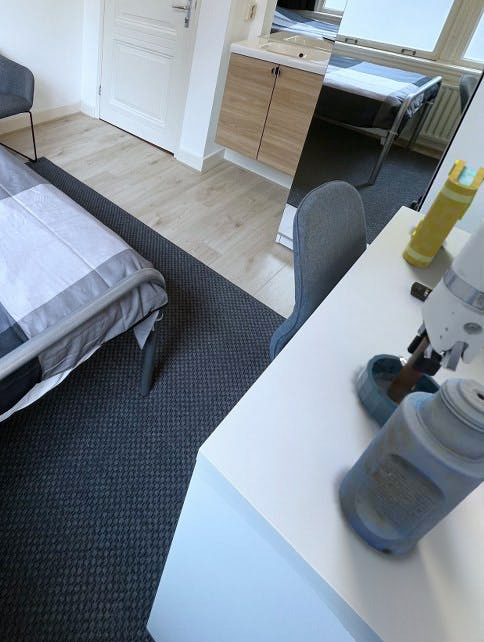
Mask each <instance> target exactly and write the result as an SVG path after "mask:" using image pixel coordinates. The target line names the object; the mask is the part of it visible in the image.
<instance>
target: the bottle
mask: <svg viewBox="0 0 484 642" xmlns="http://www.w3.org/2000/svg"><path fill="white" fill-rule="evenodd" d="M396 407H397V409H396V410H395V411H394V413H393V414H392V415H391V417H390V418H389V419H388V421H387V422H386V423H385V425H384V426H382V427H381V428H380V430H379V431H378V432H377V434H376V435H375V436H374V438H373V439H372V440H371V442H370V443H369V444H368V446H367V447H366V449H365V450H364V451H363V452H362V454H361V455H360V456H359V458H358V459H357V460H356V461H355V463H354V464H353V465H352V467H351V468H350V469H349V470H348V471H347V473H346V475H345V476H344V477H343V479H341V482H340V484H339V488H338V499H339V503H340V506H341V508H342V512H343V513H344V517H345V518H346V520H347V522H348V523H349V525H350V526H351V527H352V529H353V530H354V531H355V533H356V534H357V535H358V536H359V537H360V538H361V539H362V540H363V541H364V542H365V543H367V544H368V545H369V546H370V547H372V548H373V549H375V550H377V551H378V552H381V553H383V554H385V555H388V556H402V555H405V554H407V552H409V551H410V550H411V549H412V548H413V547H414V546H416V545H417V543H418V542H420V541H421V540H422V539H423V538H424V537H425V536H426V535H427V534H428V533H429V532H430V531H432V530H433V529H434V528H435V527H436V526H437V525H438V524H440V522H441V521H443V520H444V519H445V518H446V517H447V516H448V515H449V514H450V513H451V512H452V511H453V510H455V509H456V508H457V507H458V506H459V505H460V504H461V503H462V502H463V501H464V500H465V499H466V498H467V497H468V496H470V495H471V494H472V493H473V492H474V491H475V490H476V489H477V488H478V487H480V486H481V485H482V483H484V384H482V383H481V382H478V381H477V380H474V379H470V378H469V379H468V378H464V377H457V376H456V377H450V378H447V379H446V380H444V381H443V382H442V383H441V385H440V389H439V391H437V392H436V393H434V394H431V393H426V392H414V393H411V394H410V393H409V394H408V395H407V396H406V397H405V398H404V399H403V401H402V402H399V405H398V406H396Z"/></svg>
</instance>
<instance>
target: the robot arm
mask: <svg viewBox="0 0 484 642" xmlns="http://www.w3.org/2000/svg"><path fill="white" fill-rule="evenodd" d="M420 309H421V310H420V311H421V316H422V317H421V318H422V324H421V325H420V326H419V328H418V329H417V334H416V335H415V337H414V338H413V340H411V342H410V344H409V345H408V347H407V348H406V351H407V353H408V354H410V355H412V354H413V353H414V351H415V350H416V348H417V347H418V346H419V344H420V343H421V342H422V340H423V339H424V337H425V336H426V335H428V336H429V339H430V342H431V343H430V344H429V346H428V347H427V349H426V350H425V352H423V351H421V352H420V354H419V355H418V356H417V358H416V359H415V360H414V362H413V363H412V365H411V366H412V369H414V370H416V371H419V372H421V373H424V374H427V375H429V376H431V377H435V376H436V374H437V373H438V372H439V371H440V370H441V368H443V369H444V370H447V371H449V372H452V373H455V372H456V370H457V368H458V365H459V362H460V359H461V361H462V363H464V364H466V365H470V364H472V363H473V362H474V361H475V359H476V358H477V357H478V355H480V353H481V352H482V350H483V349H484V217H482V219H481V220H480V221H479V223H478V225H477V226H476V227H475V229H474V230H473V231H472V233H471V234H470V236H469V238H468V239H467V240H466V242H465V243H464V245H463V246H462V247H461V249H460V251H459V252H458V253H457V255H456V257H455V258H454V260H453V261H452V262H451V264H450V266H449V267H448V268H447V270H446V271H445V273H444V274H443V276H442V277H441V279H440V281H439V282H438V283H437V284H436V286H435V287H434V288H433V289H432V290H431V292H430V293H429V294H428V296H427V297H426V299H425V300H424V302H423V304H422V306H421V308H420ZM435 351H436V352H437V353H435ZM438 353H439V354H438Z"/></svg>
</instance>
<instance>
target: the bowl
mask: <svg viewBox="0 0 484 642" xmlns="http://www.w3.org/2000/svg"><path fill="white" fill-rule="evenodd" d="M402 368H403V367H402V365H401V362H400V358H399V357H398V356H397V355H395V354H387V353H380V354H375V355H373V356H372V357H371V358H369V360H368V361H367V362H366V363H365V365H364V366H363V369H362V370H361V371H360V373H359V375H358V377H357V380H356V382H355V383H356V384H355V385H356V392H357V395H358V397H359V399H360V401H361V403H362V405H363V407H364V408H365V409H366V410H367V412H368V413H369V415H370V416H371V417H372V418H373V419H374V420H375V421H376V422H378V424H380V425H381V426H382V427H383V426H384V425H385V423H386V422H387V421H388V419H389V418H390V417H391V415H392V414H393V413H394V411H395V410H396V409H397V407H398V406H397V405H395V404H394V403H393V402H391V401H390V400H389V399H388V398H387V397H386V395H385V394H384V393H383V392H382V391H381V390H380V388H379V387H378V385H377V382H376V381H378V380H382V381H388V382H390V383H392V382H393V380H394V379H395V378H396V376H397V375H398V373H399V372H400V371H401V369H402ZM440 386H441V385H440V384H439V383H438V382H437V381H436V380H435V379H434V378H433V376H429V375H427V374H423V375H422V377H421V378H420V379H419V381H418V382H417V383H416V385H415V386H414V388H413V389H412V391H411V392H410V393H409V394H411V393H414V392H426V393H431V394H434V393H436V392H437V391H439V389H440Z"/></svg>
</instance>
